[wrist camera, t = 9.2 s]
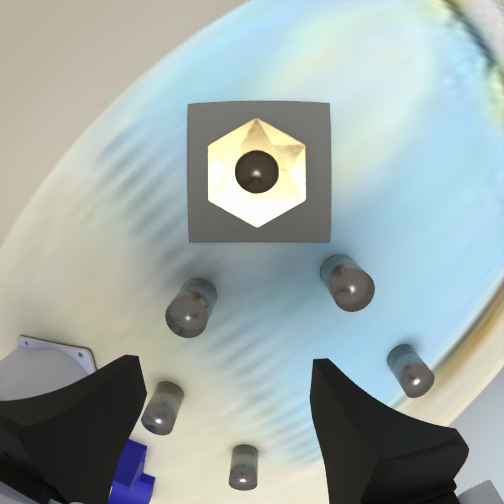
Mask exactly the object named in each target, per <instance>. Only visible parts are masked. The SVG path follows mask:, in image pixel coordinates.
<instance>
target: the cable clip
mask: <svg viewBox="0 0 504 504" xmlns="http://www.w3.org/2000/svg"><path fill="white" fill-rule="evenodd" d="M146 449H147V446H144V445H142V444H139V443H137V442H134V441H132V440H129V439H128V440H127V442H126V444H125V446H124V449H123V451H122V453H121V456H120V459H119V462H118V465H117V468H116V471H115V475H114V479H113V482H112V491H111V494H110V497H109V500H108V504H149V502H150V499H151V495H152V490H153V486H154V481H155V477H152V476H149V475H147V474H144V473H143V468H144V462H145V456H146Z"/></svg>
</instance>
